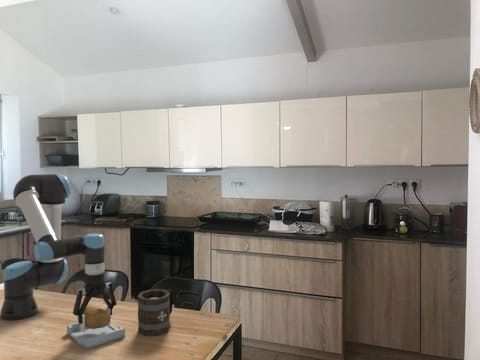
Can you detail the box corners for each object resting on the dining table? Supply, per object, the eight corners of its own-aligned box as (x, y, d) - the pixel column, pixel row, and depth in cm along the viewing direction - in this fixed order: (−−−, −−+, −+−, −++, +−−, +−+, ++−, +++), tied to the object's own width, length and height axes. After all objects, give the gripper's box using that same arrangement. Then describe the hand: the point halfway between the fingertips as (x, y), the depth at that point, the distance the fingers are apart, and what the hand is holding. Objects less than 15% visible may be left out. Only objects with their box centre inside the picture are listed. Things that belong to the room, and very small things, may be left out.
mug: (158, 339, 155) (157, 302, 154) (130, 333, 160) (130, 297, 160) (184, 320, 173) (184, 287, 172) (158, 316, 178) (158, 283, 178)
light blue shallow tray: (67, 333, 160) (67, 325, 160) (105, 322, 171) (105, 314, 171) (85, 349, 146) (84, 340, 146) (125, 336, 157) (125, 328, 157)
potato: (98, 336, 151) (98, 315, 151) (74, 328, 158) (73, 309, 157) (117, 326, 159) (117, 307, 159) (93, 320, 166) (93, 301, 166)
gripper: (69, 280, 147) (70, 338, 148) (125, 269, 162) (125, 322, 163) (62, 276, 153) (63, 332, 154) (116, 265, 168) (117, 317, 169)
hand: (95, 327), depth 158 cm, fingers closed on potato, 10 cm apart
